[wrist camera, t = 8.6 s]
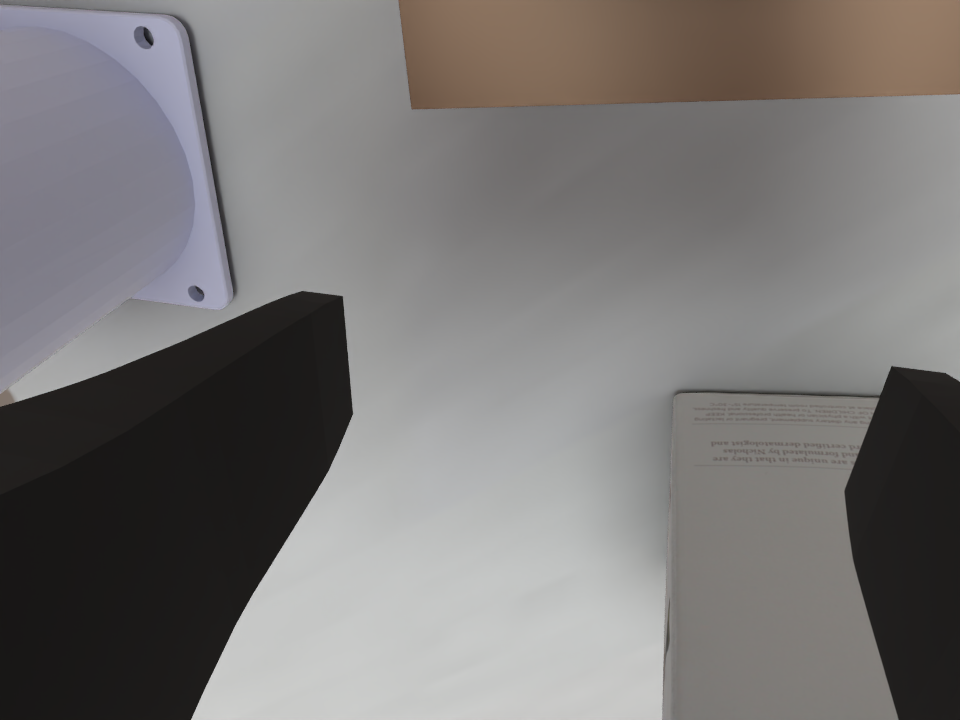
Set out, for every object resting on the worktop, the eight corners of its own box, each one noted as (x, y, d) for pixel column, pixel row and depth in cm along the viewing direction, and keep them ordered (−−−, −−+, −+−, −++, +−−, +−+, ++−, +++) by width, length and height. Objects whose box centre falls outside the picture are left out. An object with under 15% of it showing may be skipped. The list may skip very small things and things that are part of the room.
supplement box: (668, 384, 21) (661, 886, 10) (968, 394, 19) (1330, 1013, 8) (662, 572, 24) (653, 1078, 14) (911, 595, 23) (1114, 1194, 12)
